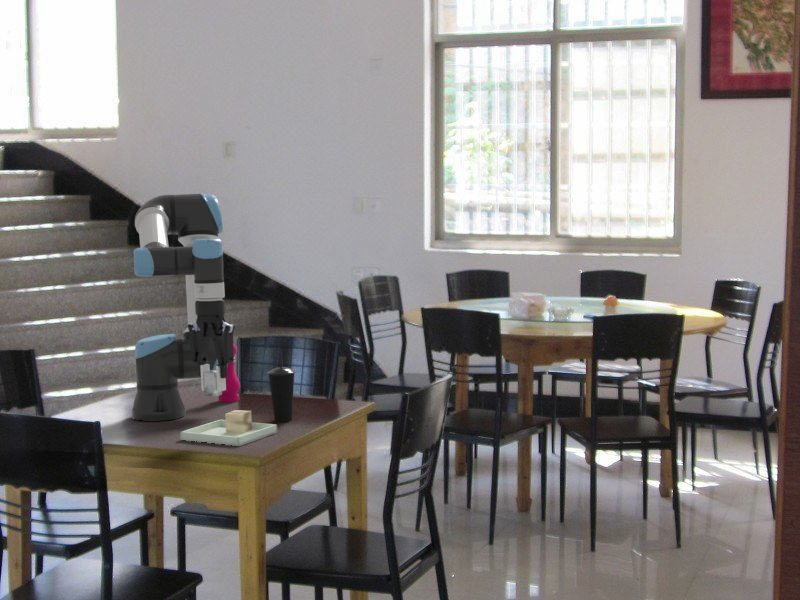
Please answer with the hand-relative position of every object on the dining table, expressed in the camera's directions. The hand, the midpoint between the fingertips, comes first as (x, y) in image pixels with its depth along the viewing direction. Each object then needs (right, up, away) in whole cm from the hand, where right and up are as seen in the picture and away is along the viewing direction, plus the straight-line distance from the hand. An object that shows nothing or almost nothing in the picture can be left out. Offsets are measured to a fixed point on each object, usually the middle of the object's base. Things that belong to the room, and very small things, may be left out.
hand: (213, 390), depth 279 cm
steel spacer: (0, -1, 0) cm, 1 cm away
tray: (+3, -13, +5) cm, 14 cm away
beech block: (+5, -12, +9) cm, 16 cm away
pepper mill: (-5, -8, +58) cm, 59 cm away
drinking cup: (+15, -11, +26) cm, 32 cm away
